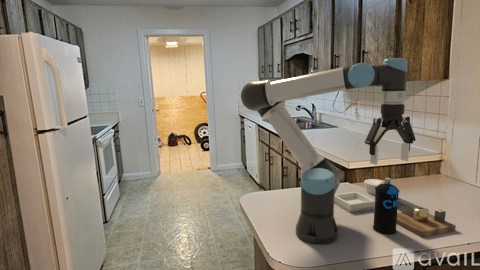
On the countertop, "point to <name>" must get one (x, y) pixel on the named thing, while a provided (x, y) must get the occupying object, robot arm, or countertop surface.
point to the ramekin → (372, 185)
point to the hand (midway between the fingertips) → (389, 162)
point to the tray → (354, 202)
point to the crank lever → (413, 210)
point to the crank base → (426, 224)
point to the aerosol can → (386, 208)
